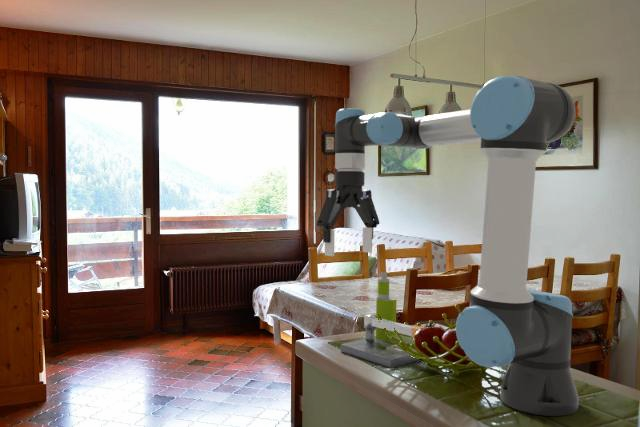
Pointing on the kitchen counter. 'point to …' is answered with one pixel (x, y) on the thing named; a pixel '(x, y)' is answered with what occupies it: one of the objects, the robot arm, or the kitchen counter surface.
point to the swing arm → (389, 325)
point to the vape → (385, 306)
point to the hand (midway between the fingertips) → (348, 254)
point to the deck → (377, 351)
